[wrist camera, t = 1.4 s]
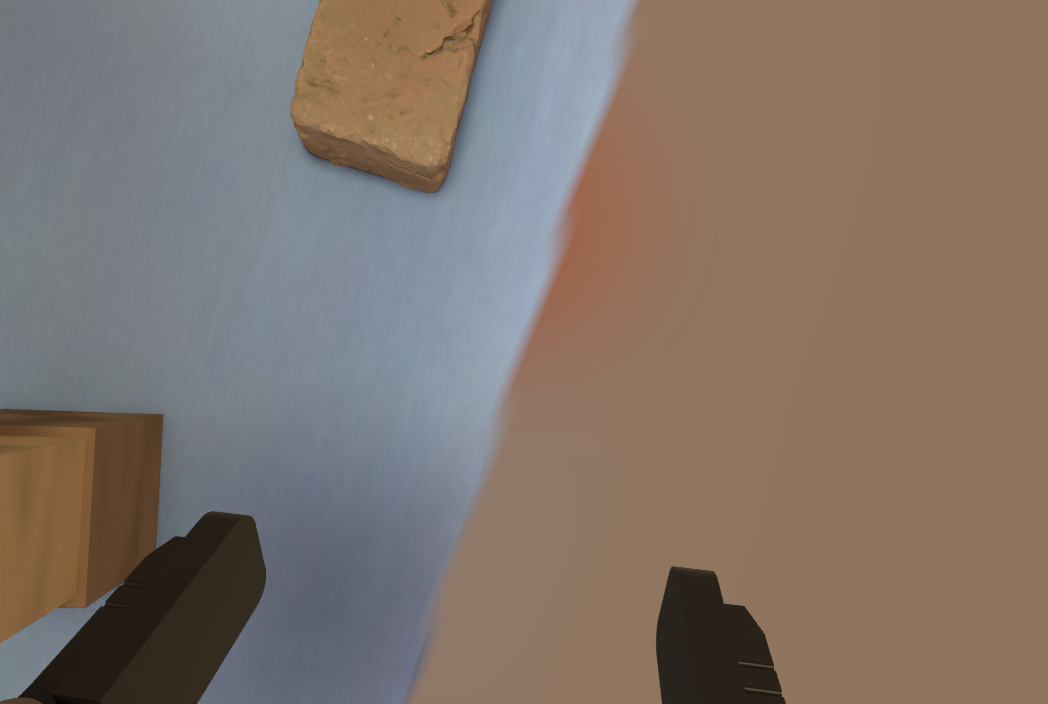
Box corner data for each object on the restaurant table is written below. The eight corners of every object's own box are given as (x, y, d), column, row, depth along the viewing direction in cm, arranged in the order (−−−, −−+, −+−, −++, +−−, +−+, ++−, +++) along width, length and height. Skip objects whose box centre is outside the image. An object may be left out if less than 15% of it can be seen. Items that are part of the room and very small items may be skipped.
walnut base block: (-4, 558, 30) (-117, 608, 24) (5, 408, 30) (-106, 421, 24) (156, 559, 31) (85, 607, 25) (164, 414, 31) (95, 428, 25)
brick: (445, 198, 33) (443, 172, 29) (302, 157, 32) (276, 123, 28) (515, -65, 34) (524, -132, 29) (376, -113, 33) (363, -191, 28)
